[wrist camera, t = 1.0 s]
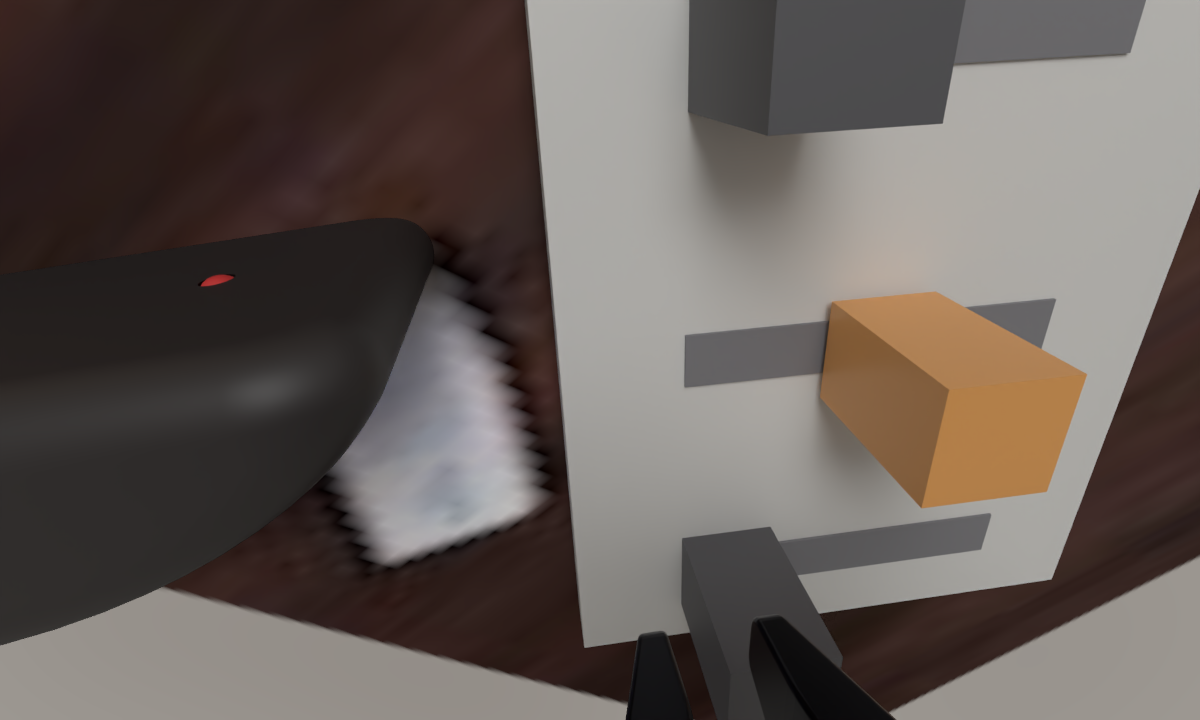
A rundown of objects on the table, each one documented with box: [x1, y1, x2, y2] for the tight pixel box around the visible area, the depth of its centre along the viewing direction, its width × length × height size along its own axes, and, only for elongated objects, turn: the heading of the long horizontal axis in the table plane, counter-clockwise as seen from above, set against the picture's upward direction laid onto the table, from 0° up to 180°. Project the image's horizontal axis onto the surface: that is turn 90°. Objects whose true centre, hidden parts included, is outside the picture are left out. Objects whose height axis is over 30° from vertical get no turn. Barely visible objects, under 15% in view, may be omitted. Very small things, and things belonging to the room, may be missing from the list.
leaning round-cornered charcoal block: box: [0, 218, 434, 645], centre depth 13 cm, size 16×5×9 cm, turn 97°
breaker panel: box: [525, 0, 1200, 720], centre depth 16 cm, size 18×22×7 cm
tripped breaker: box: [820, 291, 1087, 508], centre depth 15 cm, size 3×3×5 cm
